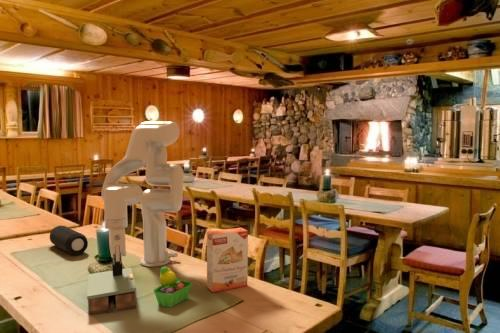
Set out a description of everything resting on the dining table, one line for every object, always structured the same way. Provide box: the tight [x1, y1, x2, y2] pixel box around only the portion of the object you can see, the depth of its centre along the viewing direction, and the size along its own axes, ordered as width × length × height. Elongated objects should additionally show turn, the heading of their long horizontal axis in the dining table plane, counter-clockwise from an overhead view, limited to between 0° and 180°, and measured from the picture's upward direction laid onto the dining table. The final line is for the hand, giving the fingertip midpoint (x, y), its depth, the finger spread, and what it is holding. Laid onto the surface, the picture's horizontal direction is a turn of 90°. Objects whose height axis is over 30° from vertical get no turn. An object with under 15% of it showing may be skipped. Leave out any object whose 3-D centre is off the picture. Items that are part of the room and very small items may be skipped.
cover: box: [86, 267, 137, 301], centre depth 141 cm, size 15×21×2 cm
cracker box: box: [206, 227, 249, 293], centre depth 151 cm, size 14×6×21 cm, turn 117°
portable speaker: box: [49, 225, 89, 256], centre depth 198 cm, size 26×10×10 cm, turn 44°
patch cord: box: [109, 295, 115, 310], centre depth 140 cm, size 1×20×1 cm, turn 20°
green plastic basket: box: [153, 266, 193, 308], centre depth 140 cm, size 11×9×11 cm
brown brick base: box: [87, 290, 137, 316], centre depth 141 cm, size 14×20×5 cm
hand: (117, 274), depth 146 cm, fingers closed
